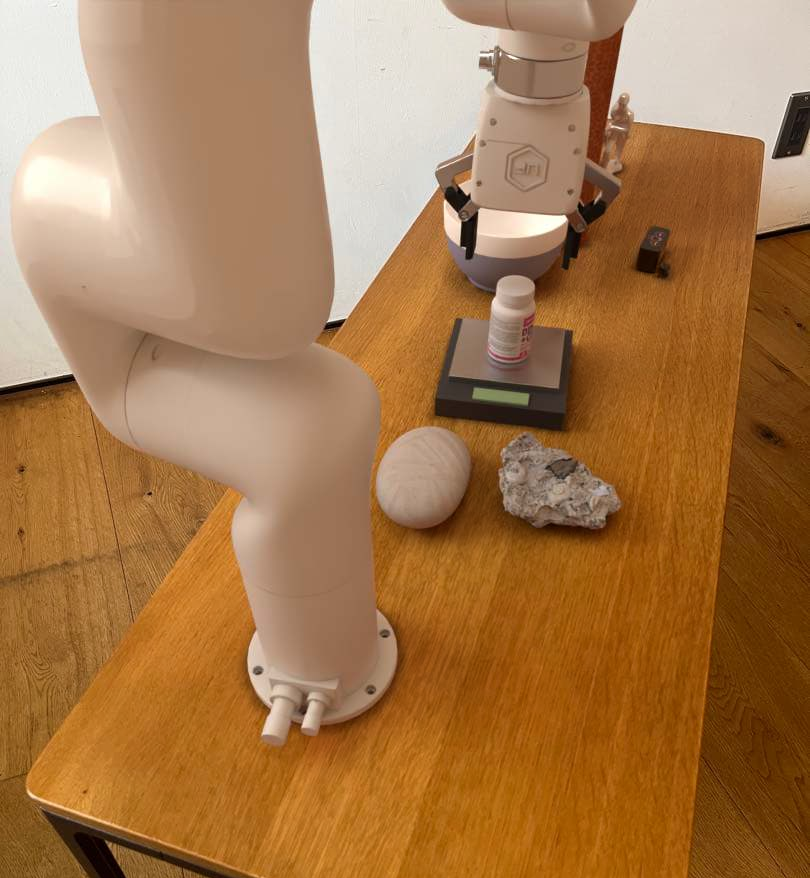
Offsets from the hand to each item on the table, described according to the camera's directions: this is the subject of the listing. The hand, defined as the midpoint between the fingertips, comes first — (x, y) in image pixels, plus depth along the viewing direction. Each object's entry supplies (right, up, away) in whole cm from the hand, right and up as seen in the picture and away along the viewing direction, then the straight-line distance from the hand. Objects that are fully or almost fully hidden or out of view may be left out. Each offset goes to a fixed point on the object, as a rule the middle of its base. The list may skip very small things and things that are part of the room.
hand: (517, 258), depth 79 cm
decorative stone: (-9, -24, 0) cm, 26 cm away
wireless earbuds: (+22, +9, +27) cm, 36 cm away
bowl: (+1, +7, +26) cm, 27 cm away
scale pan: (0, -8, +10) cm, 13 cm away
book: (+10, +21, +37) cm, 43 cm away
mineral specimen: (+3, -25, -1) cm, 26 cm away
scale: (0, -10, +11) cm, 15 cm away
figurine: (+20, +28, +43) cm, 56 cm away
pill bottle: (0, -7, +9) cm, 12 cm away
